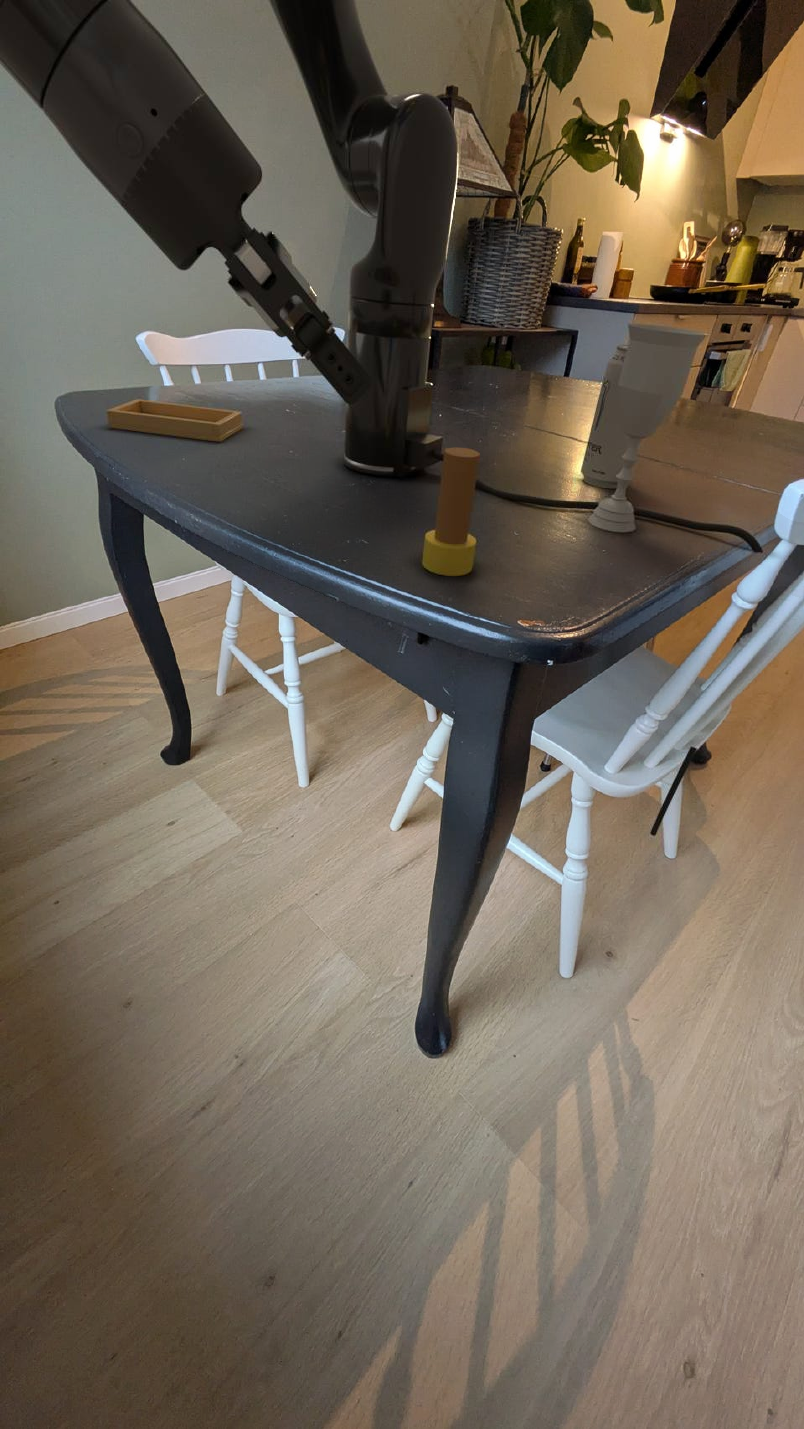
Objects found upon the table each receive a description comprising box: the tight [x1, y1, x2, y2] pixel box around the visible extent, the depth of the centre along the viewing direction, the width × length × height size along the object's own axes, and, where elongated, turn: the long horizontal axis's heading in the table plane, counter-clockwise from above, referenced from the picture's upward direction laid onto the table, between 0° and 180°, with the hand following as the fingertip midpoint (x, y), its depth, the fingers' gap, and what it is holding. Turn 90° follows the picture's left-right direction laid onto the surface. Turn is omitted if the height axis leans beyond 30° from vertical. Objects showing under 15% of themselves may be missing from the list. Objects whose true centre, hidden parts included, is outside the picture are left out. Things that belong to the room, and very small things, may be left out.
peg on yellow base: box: [421, 447, 481, 577], centre depth 52 cm, size 4×4×10 cm
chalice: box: [587, 323, 708, 533], centre depth 62 cm, size 7×7×18 cm
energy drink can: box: [580, 344, 630, 490], centre depth 76 cm, size 6×6×15 cm
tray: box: [106, 398, 243, 443], centre depth 84 cm, size 15×8×2 cm, turn 81°
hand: (351, 382), depth 45 cm, fingers open, 8 cm apart
